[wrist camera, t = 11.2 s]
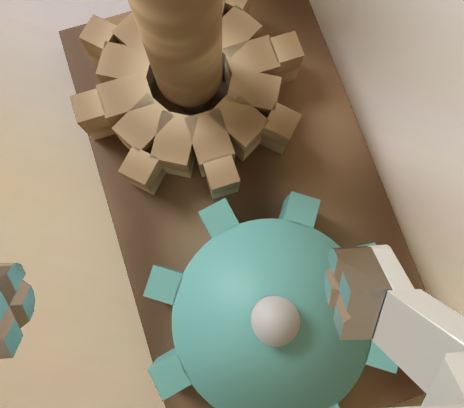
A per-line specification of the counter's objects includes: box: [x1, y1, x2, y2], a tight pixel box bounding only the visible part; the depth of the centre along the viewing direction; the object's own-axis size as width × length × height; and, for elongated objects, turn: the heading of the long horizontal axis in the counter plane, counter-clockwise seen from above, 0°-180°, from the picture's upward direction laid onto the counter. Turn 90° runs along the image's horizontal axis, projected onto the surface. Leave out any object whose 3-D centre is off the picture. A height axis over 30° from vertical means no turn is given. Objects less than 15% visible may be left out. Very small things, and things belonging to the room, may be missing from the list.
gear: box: [143, 191, 398, 408], centre depth 18 cm, size 11×11×4 cm
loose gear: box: [70, 0, 305, 200], centre depth 17 cm, size 11×11×10 cm
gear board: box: [59, 0, 425, 408], centre depth 21 cm, size 14×24×4 cm, turn 18°
